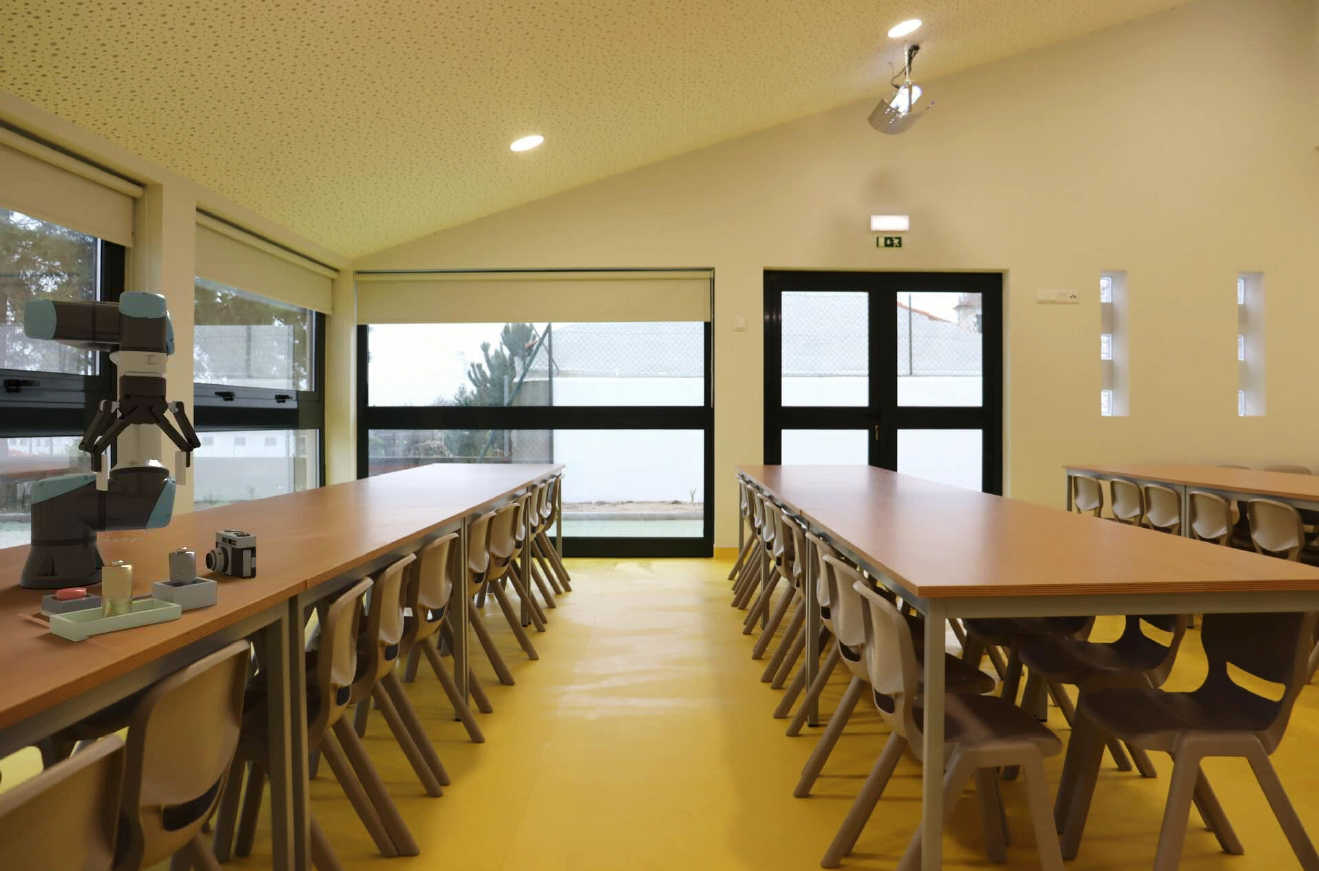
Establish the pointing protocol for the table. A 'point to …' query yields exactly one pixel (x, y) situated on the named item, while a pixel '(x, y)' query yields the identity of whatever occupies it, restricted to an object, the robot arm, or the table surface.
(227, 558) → the camera
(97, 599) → the button housing
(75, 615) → the trough
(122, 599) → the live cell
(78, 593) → the button
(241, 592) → the table surface
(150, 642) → the table surface
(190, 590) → the bin
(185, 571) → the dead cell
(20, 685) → the table surface
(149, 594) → the empty grey frame
